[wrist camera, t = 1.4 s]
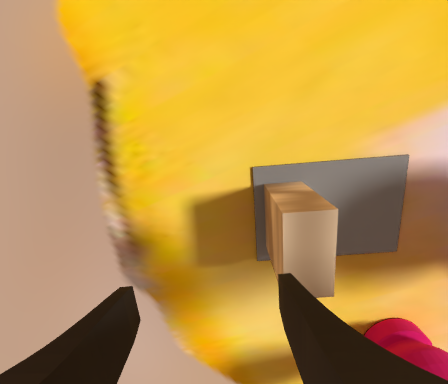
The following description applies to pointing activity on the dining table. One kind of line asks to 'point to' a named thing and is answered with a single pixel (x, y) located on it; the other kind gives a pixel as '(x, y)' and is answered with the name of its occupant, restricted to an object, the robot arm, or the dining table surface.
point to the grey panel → (345, 199)
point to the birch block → (301, 235)
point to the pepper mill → (409, 345)
